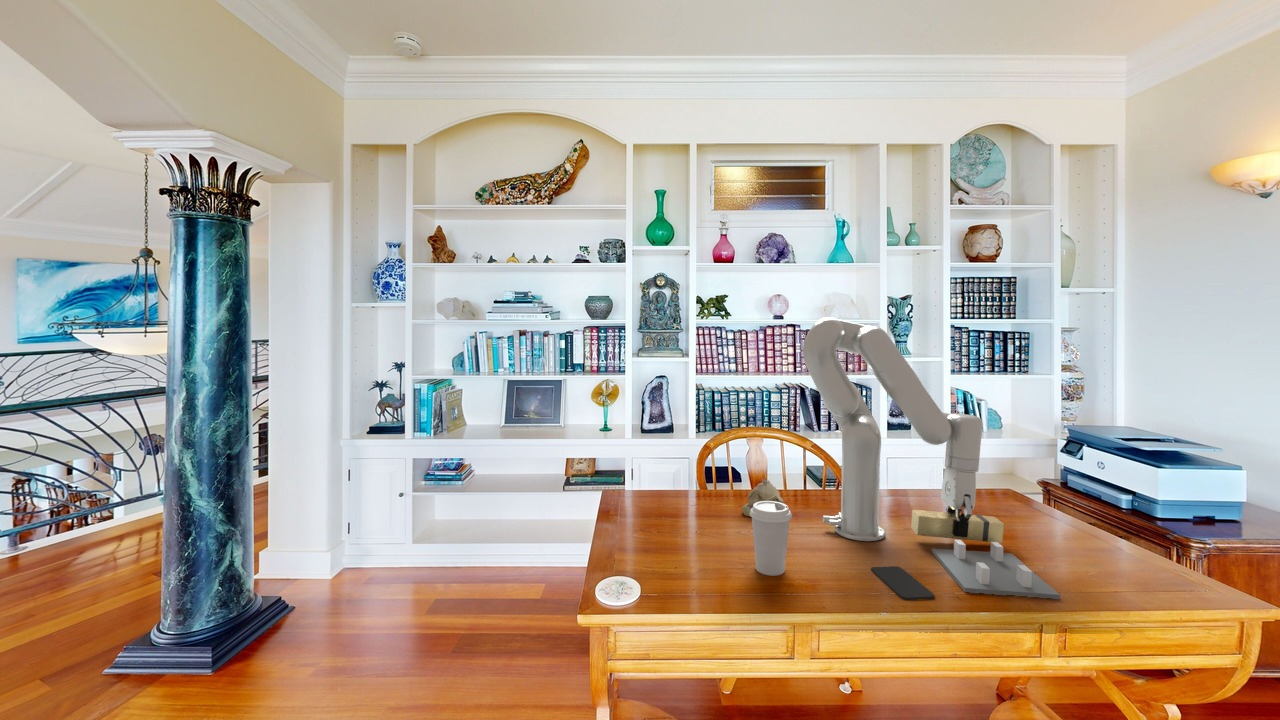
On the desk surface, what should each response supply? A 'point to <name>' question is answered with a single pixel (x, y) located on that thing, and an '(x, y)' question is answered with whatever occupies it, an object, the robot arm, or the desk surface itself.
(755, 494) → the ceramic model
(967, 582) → the peg plate
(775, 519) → the coffee cup
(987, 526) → the tan long bar
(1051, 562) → the desk surface
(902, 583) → the phone
